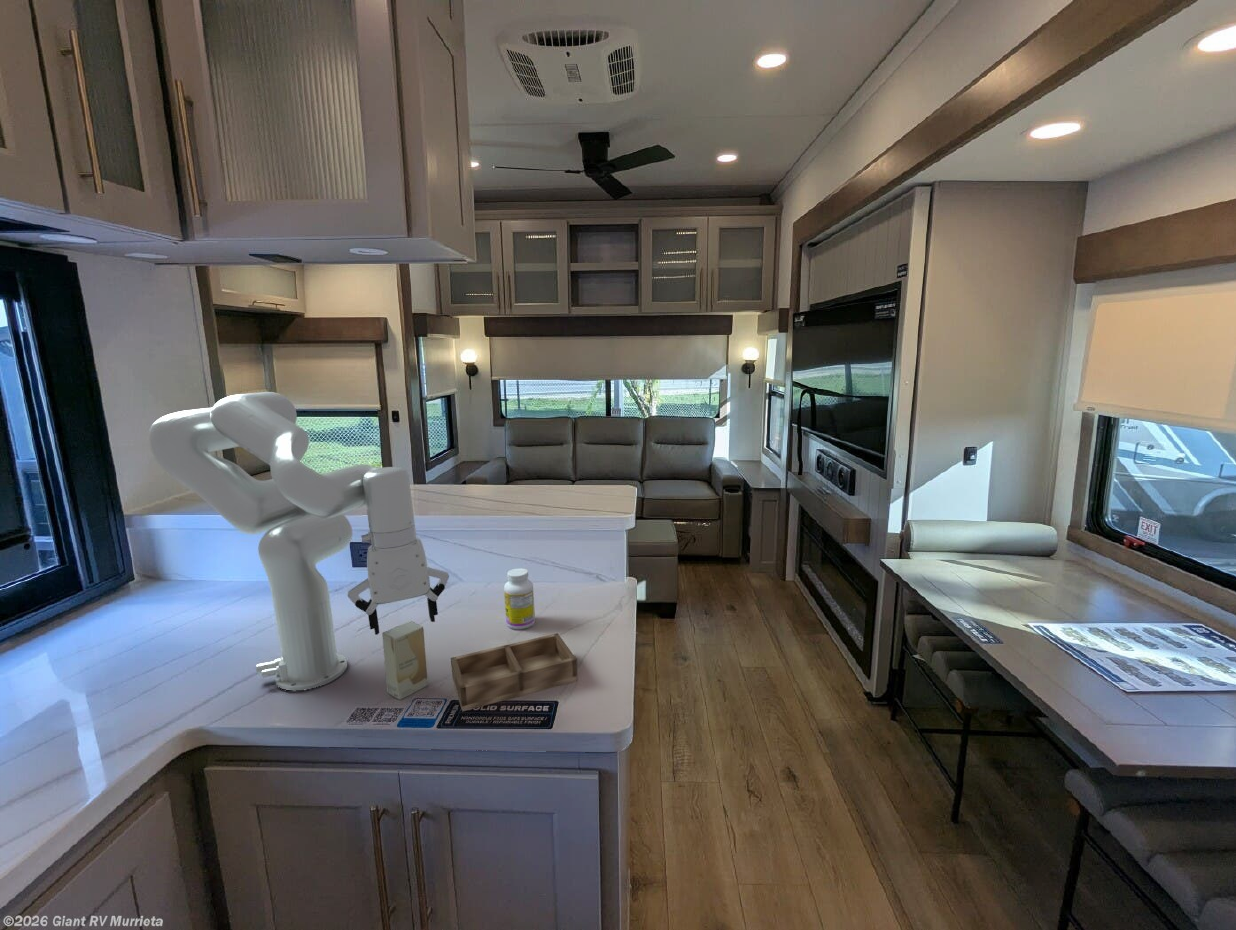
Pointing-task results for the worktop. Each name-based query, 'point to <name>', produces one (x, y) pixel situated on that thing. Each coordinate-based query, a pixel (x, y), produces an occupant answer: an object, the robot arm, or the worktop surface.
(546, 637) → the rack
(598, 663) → the worktop surface
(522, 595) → the supplement bottle
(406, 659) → the skincare box
